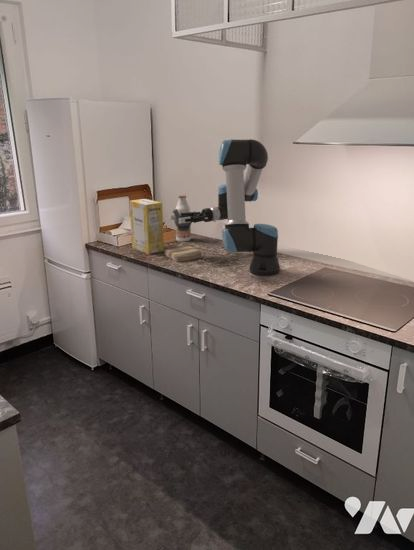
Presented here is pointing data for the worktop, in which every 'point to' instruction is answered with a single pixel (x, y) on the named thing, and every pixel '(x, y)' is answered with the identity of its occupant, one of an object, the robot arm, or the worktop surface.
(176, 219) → the mortar and pestle
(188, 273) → the worktop surface
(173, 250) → the block
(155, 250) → the pasta box
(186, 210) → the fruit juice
